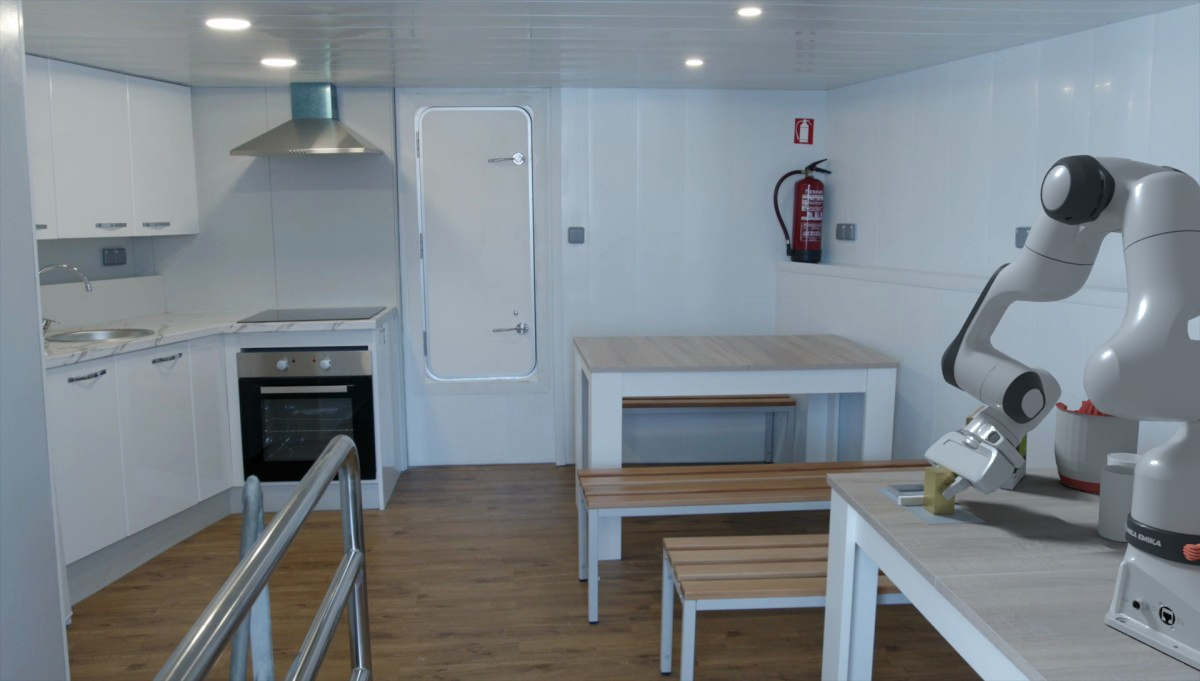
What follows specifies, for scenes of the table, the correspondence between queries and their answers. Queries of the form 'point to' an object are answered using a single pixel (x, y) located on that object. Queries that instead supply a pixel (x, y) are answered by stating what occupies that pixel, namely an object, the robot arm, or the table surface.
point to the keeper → (904, 489)
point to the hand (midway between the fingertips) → (936, 492)
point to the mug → (1115, 501)
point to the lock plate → (916, 508)
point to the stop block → (938, 490)
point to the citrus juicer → (1089, 443)
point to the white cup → (1123, 459)
